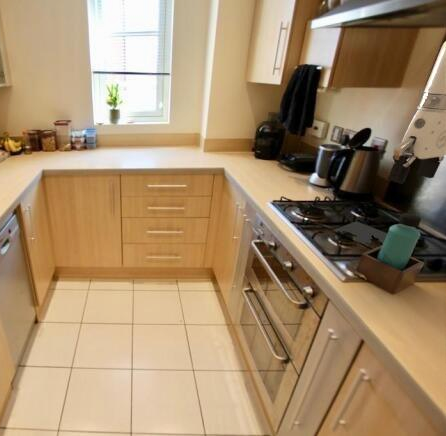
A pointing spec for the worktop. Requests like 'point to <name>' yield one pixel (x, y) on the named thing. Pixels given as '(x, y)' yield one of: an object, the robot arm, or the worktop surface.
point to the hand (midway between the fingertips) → (410, 178)
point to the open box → (388, 272)
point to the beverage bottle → (400, 242)
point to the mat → (362, 232)
